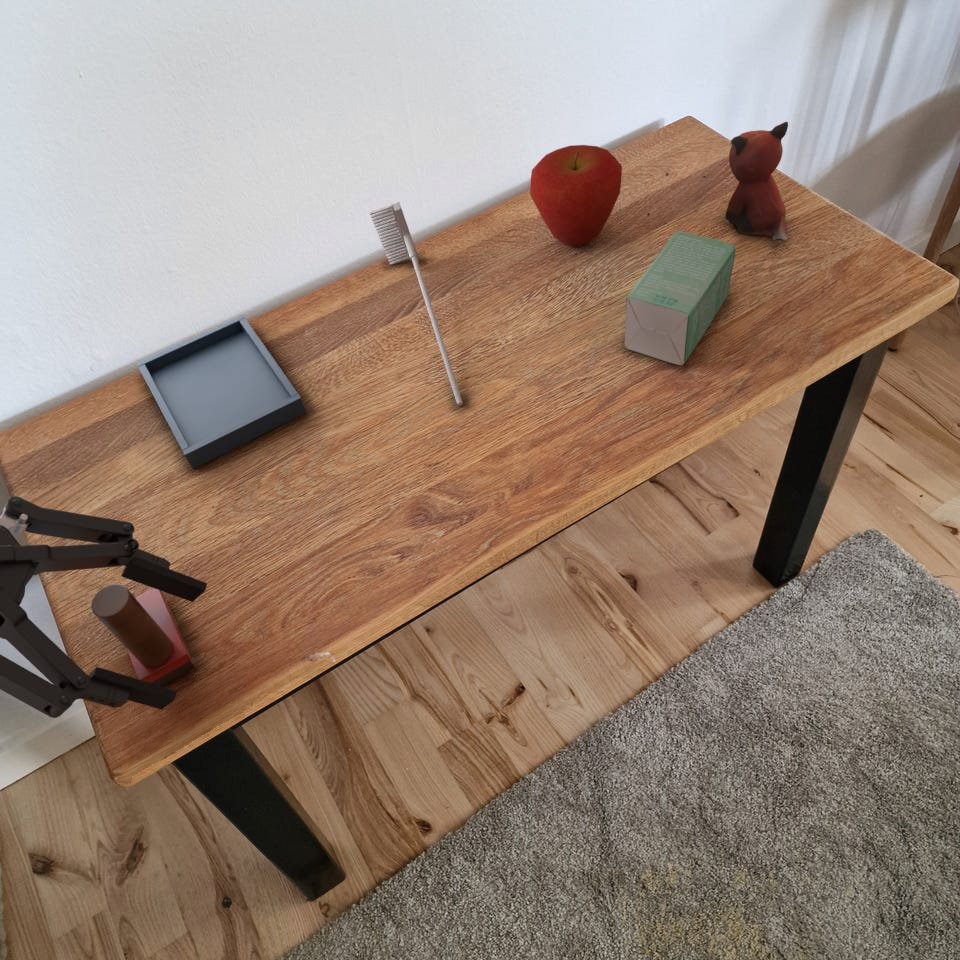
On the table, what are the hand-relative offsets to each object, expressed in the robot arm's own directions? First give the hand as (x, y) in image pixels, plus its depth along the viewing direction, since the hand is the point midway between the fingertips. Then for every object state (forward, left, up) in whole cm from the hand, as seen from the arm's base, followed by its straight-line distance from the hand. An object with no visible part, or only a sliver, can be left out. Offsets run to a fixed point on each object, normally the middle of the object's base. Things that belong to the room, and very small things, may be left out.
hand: (185, 644), depth 70 cm
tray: (-6, +34, -4) cm, 35 cm away
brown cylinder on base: (-5, +2, -4) cm, 7 cm away
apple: (+35, +59, -4) cm, 69 cm away
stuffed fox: (+58, +59, -4) cm, 83 cm away
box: (+46, +42, -4) cm, 63 cm away
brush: (+17, +44, -4) cm, 48 cm away
